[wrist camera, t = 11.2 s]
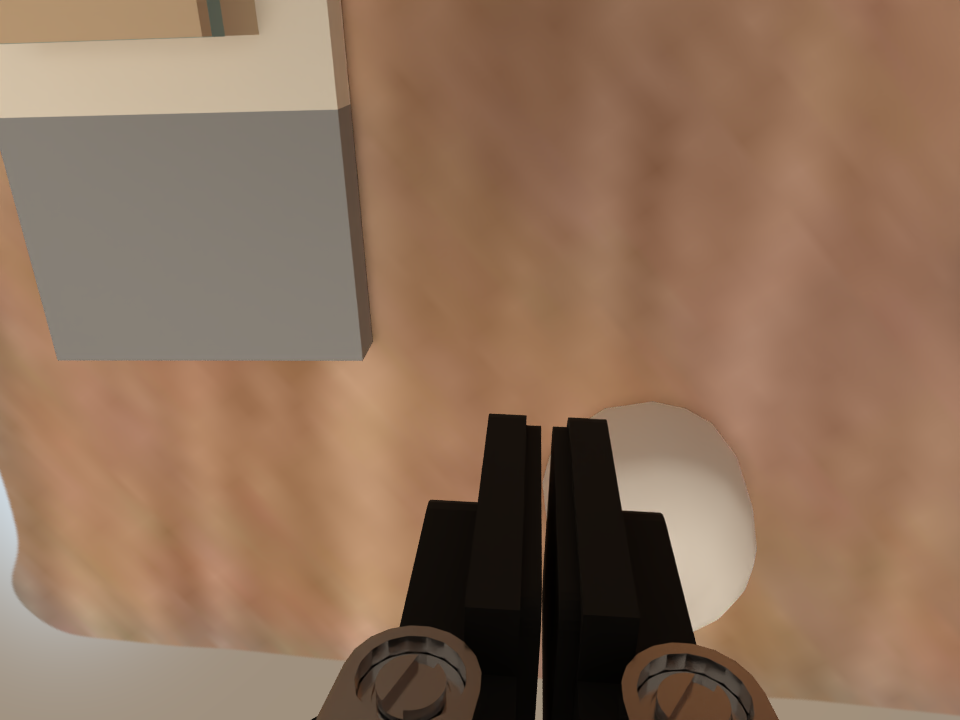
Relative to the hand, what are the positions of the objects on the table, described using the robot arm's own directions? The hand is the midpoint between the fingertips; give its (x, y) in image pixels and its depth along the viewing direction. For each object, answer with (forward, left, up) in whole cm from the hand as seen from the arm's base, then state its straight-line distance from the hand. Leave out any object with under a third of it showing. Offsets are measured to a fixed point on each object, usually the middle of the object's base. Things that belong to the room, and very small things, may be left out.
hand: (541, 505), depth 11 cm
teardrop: (+18, +6, -28) cm, 34 cm away
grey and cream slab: (-4, -17, -28) cm, 33 cm away
